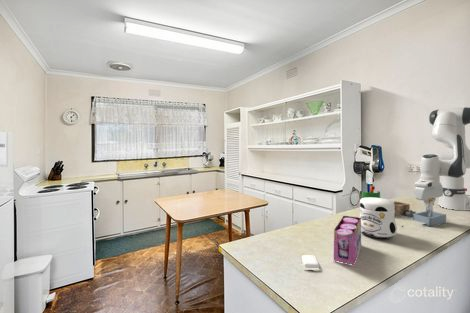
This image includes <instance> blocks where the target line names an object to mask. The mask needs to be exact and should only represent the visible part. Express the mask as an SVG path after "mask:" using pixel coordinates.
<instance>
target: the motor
mask: <svg viewBox="0 0 470 313" xmlns="http://www.w3.org/2000/svg"><path fill="white" fill-rule="evenodd" d="M375 188H376V186H375V185H369V192H366V191H363V190H362V192H361V194H362V195H361V196H362V198H369V197H372V198H381V191H377V192H375ZM362 198H361V199H362Z"/></svg>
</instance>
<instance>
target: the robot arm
mask: <svg viewBox="0 0 470 313" xmlns="http://www.w3.org/2000/svg"><path fill="white" fill-rule="evenodd" d="M428 122H429V123H430V125H432V130H431V136H432V138H433V139H434V140H436V141H437V142H439V143H442V145H443V146H444V147H446V148H449V149H451V150H452V151H453V152H434V153H430V154H424V155H422V156H421V158H420V164H419V172H420V175H419V179H418V180H416V181H415V182H414V187H415V188H414V197H415V199H416V200H419V201H423V203H424V207H426V206H430V203H429V202H428V201H429V199H432V198H434V201H433V206H434V205H435V202H436V199H437V198H438V202H437V203H436V204H439V205H440V206H441V207H440V206H439V205H438V206H439V207H440V208H442V207H444V208H443V209H446V208H447V209H446V210H452V209H454V211H465V210H470V197H469V196H468V195H467V194H466V192H467V190H468V188H466V187H465V178H464V176H465V174H466V172H467V169H470V148H469V147H468V146H467V143H466V142H467V141H466V126H467V125H469V124H470V107H451V108H450V107H449V108H443V109H435V110H432V111H431V112H430V114H429V116H428ZM440 177H441V178H440ZM441 181H442V183H441Z"/></svg>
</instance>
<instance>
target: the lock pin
mask: <svg viewBox="0 0 470 313" xmlns="http://www.w3.org/2000/svg"><path fill="white" fill-rule="evenodd" d="M433 201H434V198H432V199H429V201H428V202H429V203H430V206H425V211H426V217H428V218H431V217H433V212H434V208H433V206H434V205H433Z"/></svg>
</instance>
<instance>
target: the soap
mask: <svg viewBox="0 0 470 313" xmlns="http://www.w3.org/2000/svg"><path fill="white" fill-rule="evenodd" d="M301 258H302V262H303V265H304V267H306V268H319V266H320V264H318V263H319V262H318V261H319V260H318V259H317V257H316V256H315V255H310V254H305V255H301Z"/></svg>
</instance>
